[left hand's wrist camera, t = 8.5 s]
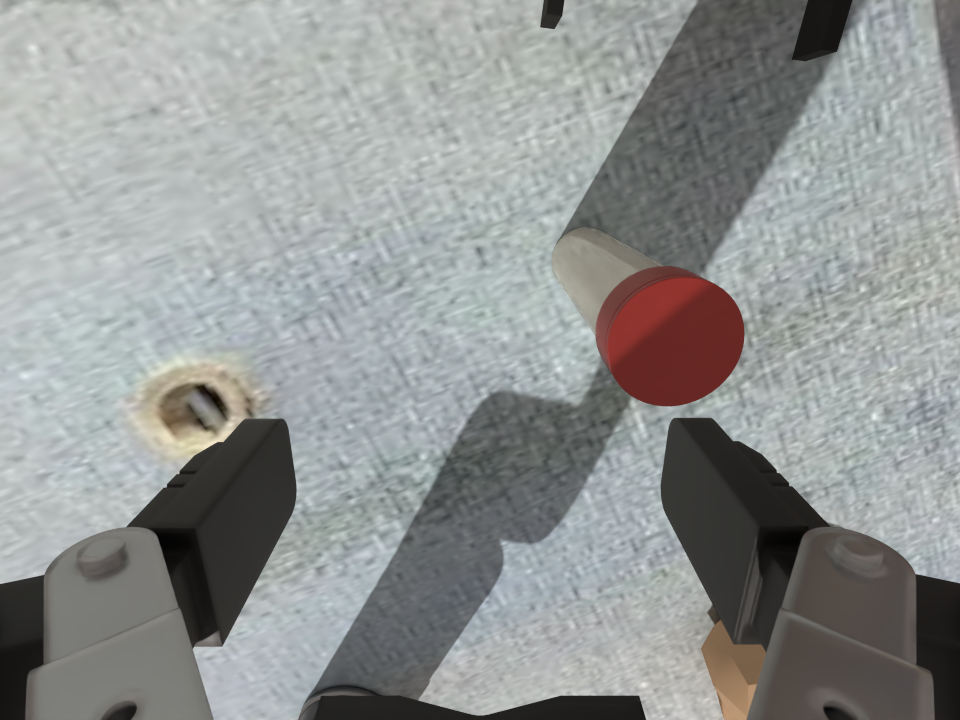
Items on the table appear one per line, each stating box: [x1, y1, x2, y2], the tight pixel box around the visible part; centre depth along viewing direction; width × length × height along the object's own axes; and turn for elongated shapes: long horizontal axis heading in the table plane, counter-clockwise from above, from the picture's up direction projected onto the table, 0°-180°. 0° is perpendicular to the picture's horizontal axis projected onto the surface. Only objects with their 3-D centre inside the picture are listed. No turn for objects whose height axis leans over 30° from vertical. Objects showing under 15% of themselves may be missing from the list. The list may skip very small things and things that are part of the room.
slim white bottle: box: [552, 227, 663, 336], centre depth 29 cm, size 4×4×18 cm
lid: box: [595, 266, 744, 406], centre depth 21 cm, size 5×5×2 cm
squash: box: [701, 620, 766, 720], centre depth 46 cm, size 11×20×9 cm, turn 22°
